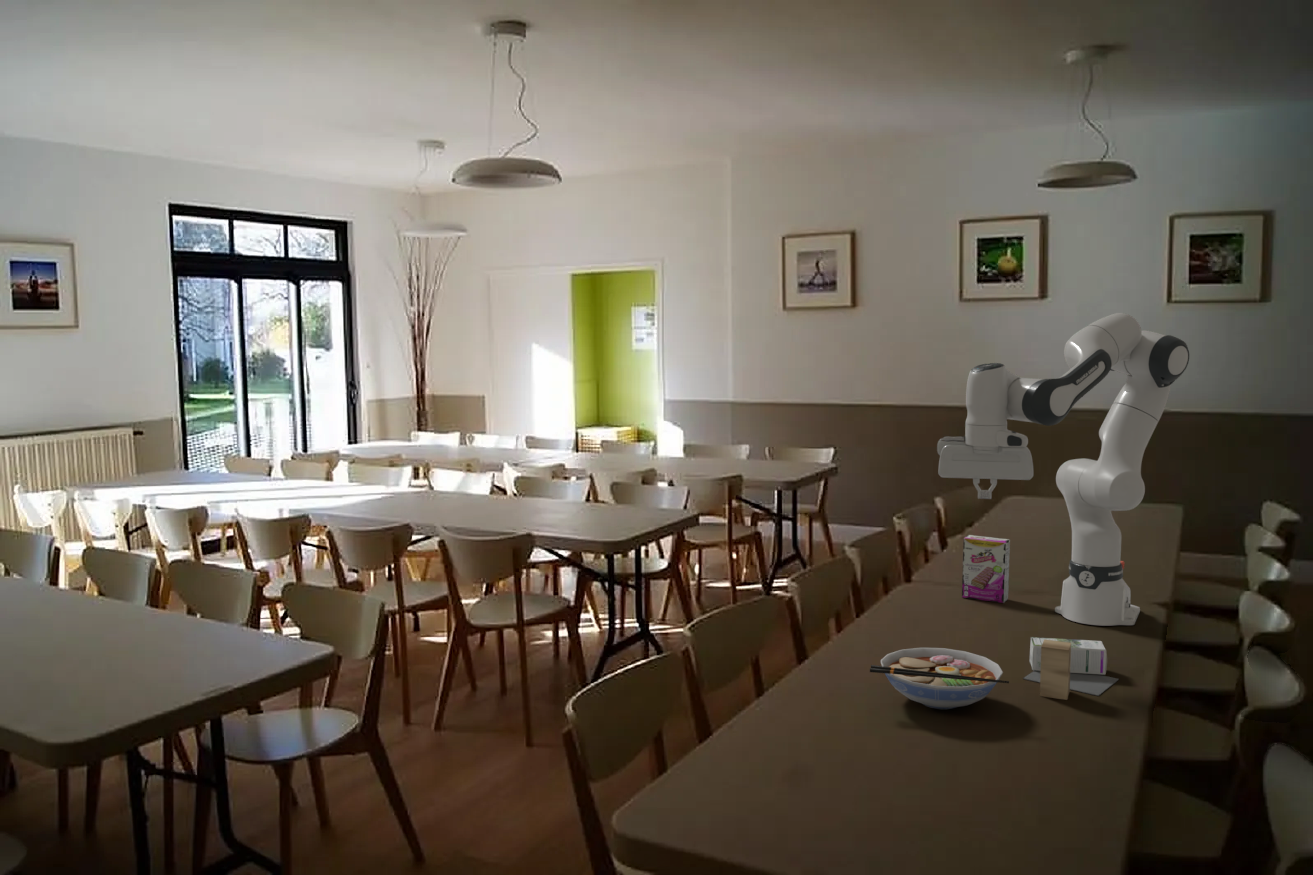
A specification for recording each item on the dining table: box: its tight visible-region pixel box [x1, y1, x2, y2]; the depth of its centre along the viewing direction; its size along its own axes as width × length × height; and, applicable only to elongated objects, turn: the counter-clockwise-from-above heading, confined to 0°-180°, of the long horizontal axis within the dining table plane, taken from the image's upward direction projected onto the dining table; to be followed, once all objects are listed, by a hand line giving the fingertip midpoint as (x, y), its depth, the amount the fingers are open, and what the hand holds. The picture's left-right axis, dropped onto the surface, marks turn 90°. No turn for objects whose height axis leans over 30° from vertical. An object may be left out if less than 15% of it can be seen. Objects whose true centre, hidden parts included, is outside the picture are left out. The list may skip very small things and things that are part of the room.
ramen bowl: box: [869, 647, 1010, 710], centre depth 197 cm, size 25×23×8 cm
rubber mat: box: [1022, 670, 1120, 697], centre depth 209 cm, size 12×15×1 cm
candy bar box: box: [961, 534, 1011, 604], centre depth 269 cm, size 11×5×16 cm, turn 58°
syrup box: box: [1029, 636, 1108, 676], centre depth 214 cm, size 6×6×14 cm
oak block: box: [1039, 639, 1071, 701], centre depth 200 cm, size 5×5×10 cm
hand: (984, 498), depth 227 cm, fingers closed
